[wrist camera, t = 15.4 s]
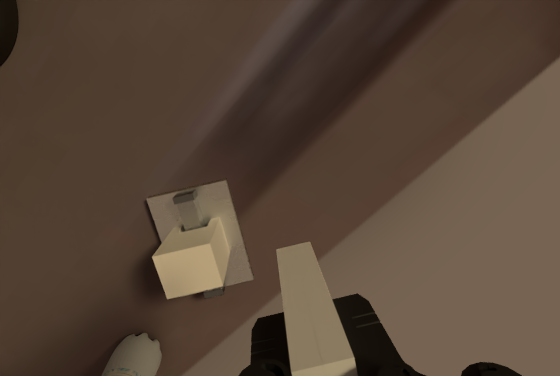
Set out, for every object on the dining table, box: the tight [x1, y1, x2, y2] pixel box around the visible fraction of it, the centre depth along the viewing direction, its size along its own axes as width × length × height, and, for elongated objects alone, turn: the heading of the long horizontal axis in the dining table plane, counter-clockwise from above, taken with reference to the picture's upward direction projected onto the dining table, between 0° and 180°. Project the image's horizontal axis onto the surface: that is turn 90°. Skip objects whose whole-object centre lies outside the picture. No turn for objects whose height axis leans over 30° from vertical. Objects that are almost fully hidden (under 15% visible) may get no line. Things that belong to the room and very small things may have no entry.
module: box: [152, 217, 230, 299], centre depth 36 cm, size 6×5×8 cm
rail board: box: [146, 178, 254, 299], centre depth 39 cm, size 10×14×3 cm
